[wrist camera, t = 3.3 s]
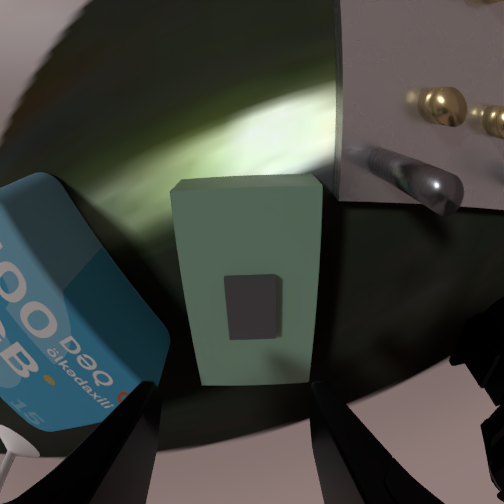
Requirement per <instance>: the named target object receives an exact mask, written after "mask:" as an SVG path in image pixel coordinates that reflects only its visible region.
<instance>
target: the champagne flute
mask: <svg viewBox="0 0 504 504" xmlns="http://www.w3.org/2000/svg"><path fill="white" fill-rule="evenodd" d="M0 438H1V439H2V441H3V443H4V445H5V446H6V448H7V450H8V451H7V453H6V455H5V457H4V459H3V462H2V464H1V466H0V492H1V489H2V486H3V484H4V482H5V479H6V477H7V474H8V472H9V470H10V467H11V465H12V463H13V461H14V458H15V456H23V457H37V458H38V457H39V456H40V454H39V452H38V451H37V449H36V448H35V447H34V446H33V445H32V444H31V443H29V442H28V441H27V440H26V439H24V438H23V437H22V436H20V435H19V434H17V433H16V432H14V431H13V430H11V429H9V428H7V427H5V426H3V425H0Z"/></svg>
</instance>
